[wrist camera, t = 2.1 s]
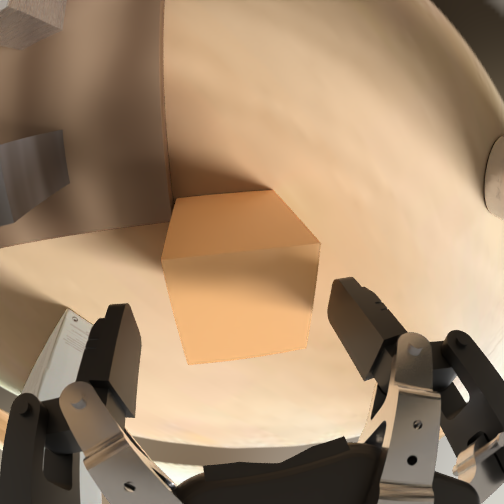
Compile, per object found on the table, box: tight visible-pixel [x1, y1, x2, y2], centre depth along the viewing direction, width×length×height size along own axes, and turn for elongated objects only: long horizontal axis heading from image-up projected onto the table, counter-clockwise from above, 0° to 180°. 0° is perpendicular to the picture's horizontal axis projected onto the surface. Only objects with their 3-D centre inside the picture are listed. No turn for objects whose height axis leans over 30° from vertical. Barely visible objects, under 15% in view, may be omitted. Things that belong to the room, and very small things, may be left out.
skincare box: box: [21, 309, 101, 504], centre depth 13 cm, size 21×6×16 cm, turn 131°
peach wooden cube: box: [161, 190, 321, 365], centre depth 14 cm, size 6×6×7 cm
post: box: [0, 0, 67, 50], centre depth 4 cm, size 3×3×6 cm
